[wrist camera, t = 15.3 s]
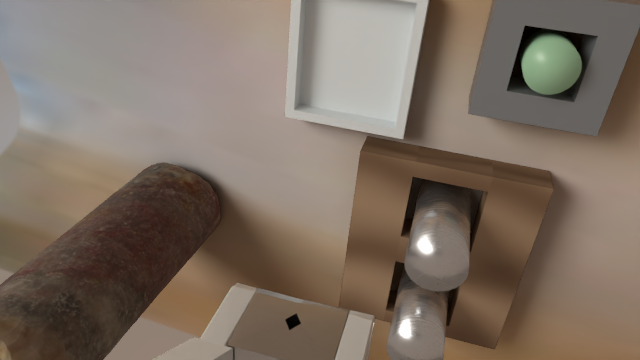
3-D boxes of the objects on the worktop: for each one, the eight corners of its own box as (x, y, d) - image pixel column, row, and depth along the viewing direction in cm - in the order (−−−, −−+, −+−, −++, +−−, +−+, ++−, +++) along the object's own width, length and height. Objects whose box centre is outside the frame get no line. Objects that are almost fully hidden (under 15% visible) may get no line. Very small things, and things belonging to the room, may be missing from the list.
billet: (423, 169, 36) (410, 233, 29) (476, 180, 35) (475, 248, 28) (414, 212, 37) (399, 282, 31) (464, 223, 37) (461, 297, 30)
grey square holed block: (498, -22, 29) (499, -14, 26) (632, -5, 27) (648, 6, 25) (469, 96, 32) (468, 113, 30) (587, 116, 31) (596, 136, 28)
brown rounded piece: (133, 208, 45) (-78, 400, 28) (148, 140, 41) (-88, 314, 24) (212, 247, 44) (47, 465, 27) (235, 182, 40) (58, 389, 23)
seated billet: (406, 250, 39) (391, 324, 32) (454, 261, 38) (448, 339, 32) (398, 286, 41) (382, 363, 34) (444, 297, 40) (437, 378, 33)
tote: (300, -29, 31) (292, -26, 30) (431, -11, 30) (429, -7, 29) (292, 108, 36) (284, 116, 35) (405, 129, 34) (402, 139, 33)
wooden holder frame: (367, 136, 35) (360, 150, 33) (549, 171, 33) (553, 189, 31) (345, 289, 42) (338, 309, 40) (493, 326, 40) (494, 349, 38)
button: (527, 25, 29) (531, 37, 26) (579, 32, 28) (589, 46, 26) (513, 73, 30) (516, 89, 28) (563, 81, 30) (571, 98, 27)
